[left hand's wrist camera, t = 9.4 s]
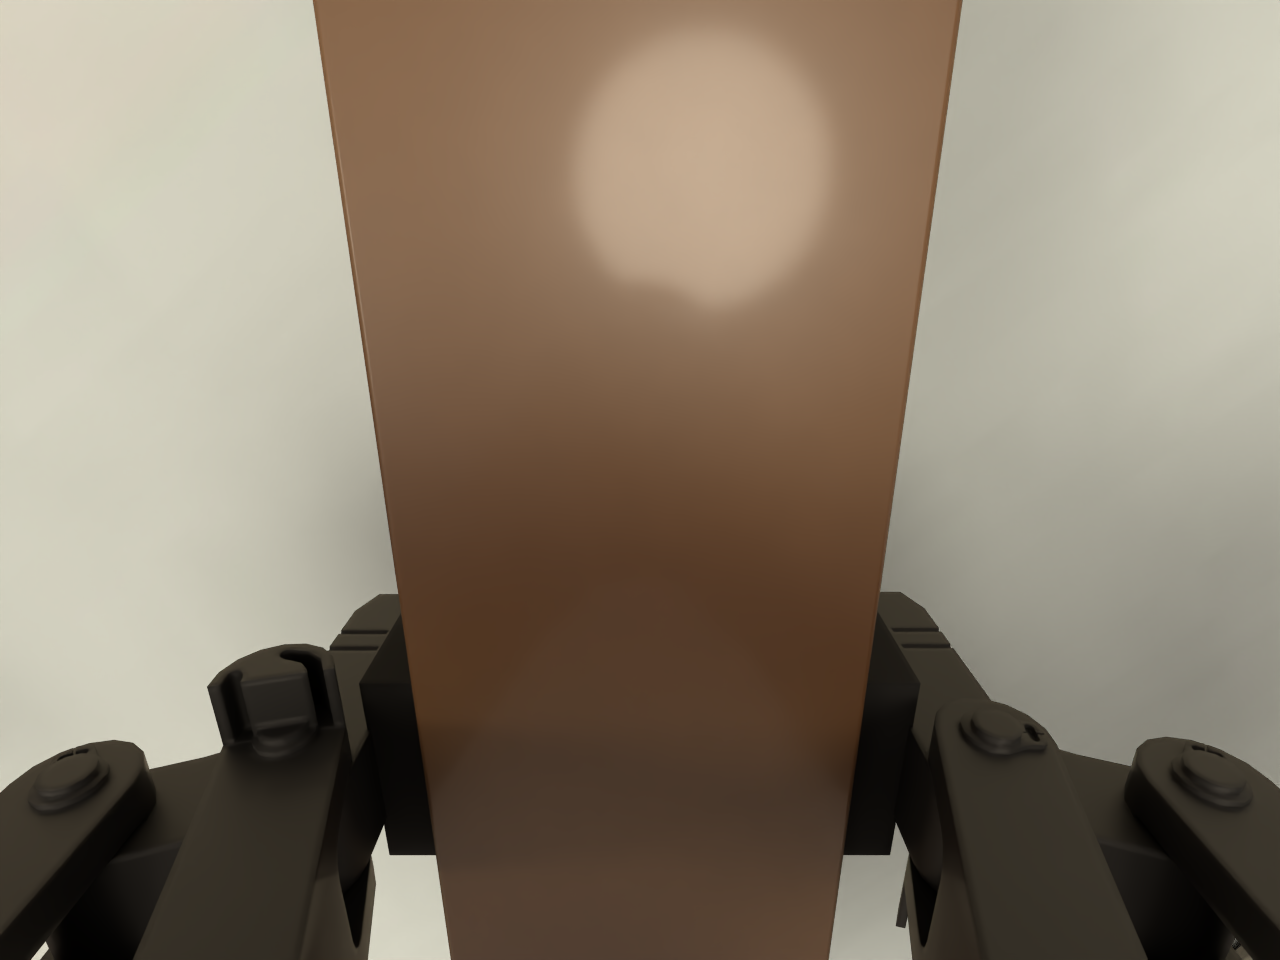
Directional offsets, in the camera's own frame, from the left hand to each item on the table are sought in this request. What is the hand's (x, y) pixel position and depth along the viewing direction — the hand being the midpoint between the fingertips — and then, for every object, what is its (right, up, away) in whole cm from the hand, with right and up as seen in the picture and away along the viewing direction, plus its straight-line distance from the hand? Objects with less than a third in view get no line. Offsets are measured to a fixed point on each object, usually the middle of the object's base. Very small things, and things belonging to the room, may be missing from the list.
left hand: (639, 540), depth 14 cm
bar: (0, +26, -9) cm, 28 cm away
